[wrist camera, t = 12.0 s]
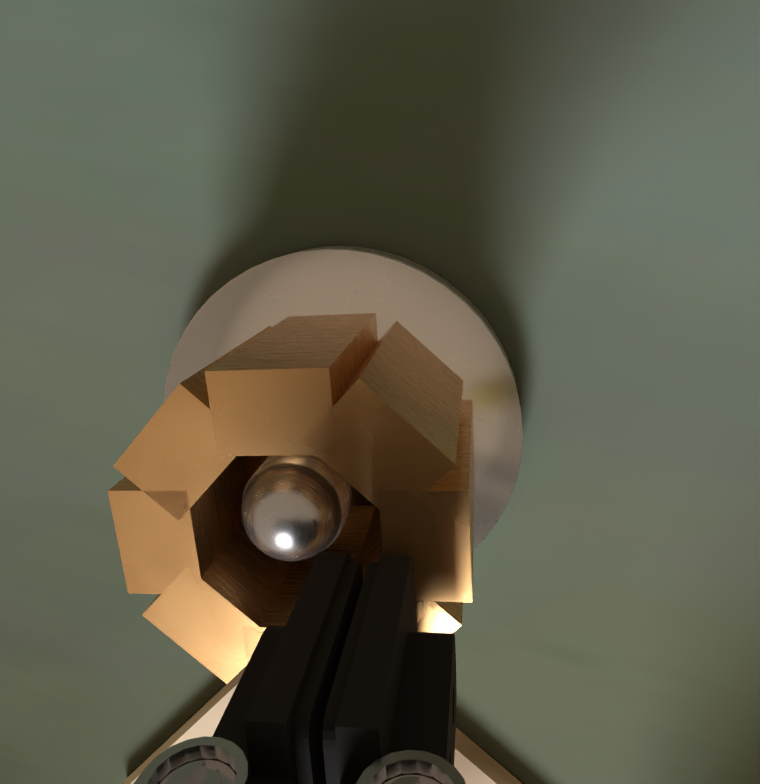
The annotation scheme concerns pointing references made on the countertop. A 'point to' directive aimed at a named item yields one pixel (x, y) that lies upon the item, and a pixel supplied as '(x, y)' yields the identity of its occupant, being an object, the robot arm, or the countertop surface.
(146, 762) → the stand
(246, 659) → the collar
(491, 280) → the countertop surface
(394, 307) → the hub
